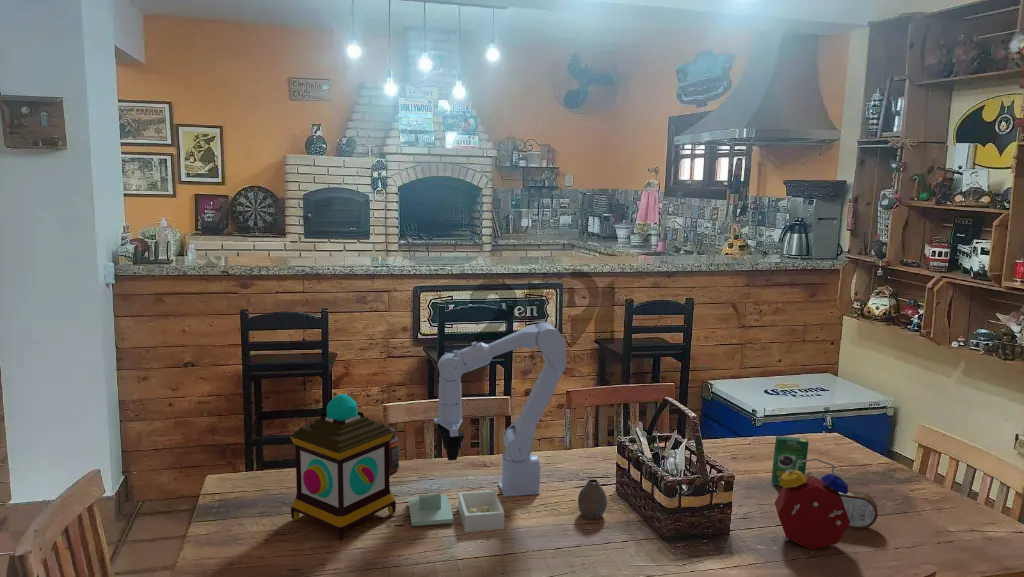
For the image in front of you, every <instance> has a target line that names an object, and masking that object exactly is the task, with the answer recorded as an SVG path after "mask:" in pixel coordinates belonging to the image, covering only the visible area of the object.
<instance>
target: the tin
mask: <svg viewBox="0 0 1024 577" xmlns="http://www.w3.org/2000/svg"><path fill="white" fill-rule="evenodd" d="M839 494H840V496H841V498H842V501H843V504H844V507H845V509H846V512H847V515H848V518H849V520H850V524H849V525H848V527H847V528H853V529H856V530H857V529H860V530H861V529H868V528H870V527H871V526H873V525H874V524H875V523H876V521H877V519H878V515H879V513H878V512H879V511H878V506H877V503H876V501H875V500H874V498H872V497H871V496H870V495H869V494H868V493H864V492H860V491H856V490H855V491H854V490H849V489H848V493H847V494H844V493H841V492H839Z"/></svg>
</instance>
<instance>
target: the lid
mask: <svg viewBox="0 0 1024 577" xmlns="http://www.w3.org/2000/svg"><path fill="white" fill-rule="evenodd" d="M407 499H408V500H407V503H408V509H409V510H408V511H409V516H410V517H409V518H410V524H411V525H410V526H411V527H417V526H429V525H430V526H431V525H442V524H443V525H444V524H454V515H453V511H452V508H451V504H450V500H449V497H448V494H445V495H441V493H434V494H422V495H421V494H420V495H419V496H416V497H408V498H407Z"/></svg>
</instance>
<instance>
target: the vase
mask: <svg viewBox="0 0 1024 577" xmlns="http://www.w3.org/2000/svg"><path fill="white" fill-rule="evenodd" d="M578 493H579V494H578V496H577V497H578V498H577V506H578V510H579V512H580V513H581V515H582V516H583V517H584V518H586V519H588V520H597V519H598V520H599V519H600V518H602V516H604V515H605V512H606V509H607V507H608V498H607V494H606V491H605V489H603V487H602V486H601V484H600V482H599V480H597V479H595V478H591V479H588V481H587V483H586V484H585V485H584V486H583V487H582V488H581V489H580V491H579V492H578Z"/></svg>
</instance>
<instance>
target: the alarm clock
mask: <svg viewBox="0 0 1024 577" xmlns="http://www.w3.org/2000/svg"><path fill="white" fill-rule="evenodd" d="M812 461H817V462H819V463H822V464H825V465H828V466H831V473H827V474H825V475H823V476H821V478H817V477H816V476H814V475H812V471H808V472H806V473H805V475H804V474H803V473H802V472H800V471H798V465H799V463H801V462H812ZM779 485H780V486H779V487H782V488H781V490H780V492H779V493H778V496H777V498H776V499H775V501H774V506H775V510H776V512H777V517H778V518H779V519H778V520H779V521H780V524H781V527H782V530H783V532H784V535H785V536H784V537H783V539H784V540H783V541H785V542H788V541H789V540H790V541H793V542H794V543H796V544H798V545H800V546H802V547H804V548H806V549H808V550H810V551H812V550H816V549H821V548H824V547H834V545H837V544H838V543H839V541H840V540H841V538H842V536H843V535H844V533H845V532H846V530H847V528H849V527H848V525H849V524H850V520H849V518H848V515H847V512H846V509H845V507H844V504H843V501H842V498H841V496H840V494H839V492H841V493H844V494H847V493H848V490H849V485H848V483H847V482H846V481H845V480H843V479H842V475H841V474H839V475H838V474H836V473H835V464H833V463H830V462H827V461H825V460H821V459H819V458H817V457H816V458H811V459H808V458H807V460H802V461H797V465H796V469H795V470H793V471H791V470H790V469H789V471H788V472H786V473H784V474H783V475H782V477H781V479H780V483H779Z"/></svg>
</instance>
